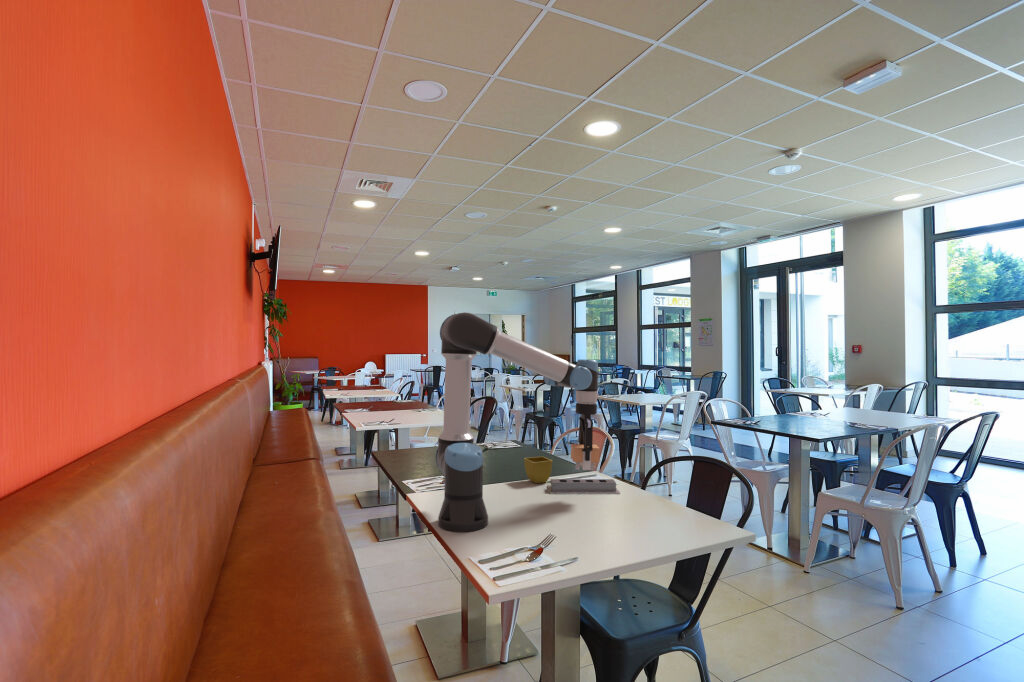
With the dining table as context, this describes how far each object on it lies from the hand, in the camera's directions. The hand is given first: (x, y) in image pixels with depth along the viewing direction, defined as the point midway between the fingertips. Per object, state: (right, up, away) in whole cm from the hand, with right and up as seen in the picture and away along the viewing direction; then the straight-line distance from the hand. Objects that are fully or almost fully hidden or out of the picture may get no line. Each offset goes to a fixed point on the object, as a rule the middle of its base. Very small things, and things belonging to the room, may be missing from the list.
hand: (584, 467), depth 185 cm
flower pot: (-15, -12, +23) cm, 30 cm away
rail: (+1, -11, +11) cm, 16 cm away
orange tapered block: (0, -1, 0) cm, 1 cm away
